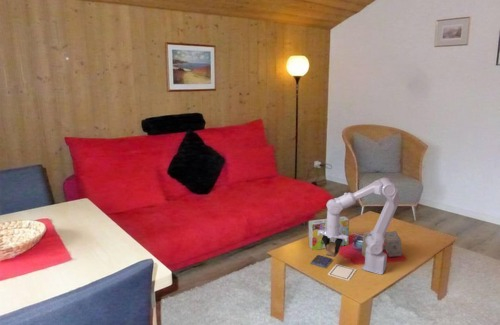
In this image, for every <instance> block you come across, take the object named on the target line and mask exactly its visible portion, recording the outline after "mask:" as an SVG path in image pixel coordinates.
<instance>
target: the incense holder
mask: <svg viewBox="0 0 500 325" xmlns="http://www.w3.org/2000/svg"><path fill="white" fill-rule="evenodd" d="M383 250H384V251H386V254H387V257H388V258H391V257H393V258H394V257H402V256H403V250H402V238H401V237H400V235H399V234H398V231H397V230H394V231H393V230H392V231H386V233H385V235H384V244H383Z"/></svg>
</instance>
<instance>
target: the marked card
mask: <svg viewBox="0 0 500 325" xmlns="http://www.w3.org/2000/svg"><path fill="white" fill-rule="evenodd" d="M356 271H357V268H356V269H355V268H352V267H348V266H344V265H341V264H337V263H336V264H335V265H334V266H333V267H332V269H330V271H329V272H328V273H327V276H330V277H334V278H337V279H341V280H344V281H347V282H349V281H350V280H351V279H352V277H353V276H354V274H355V273H356Z"/></svg>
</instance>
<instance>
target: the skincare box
mask: <svg viewBox="0 0 500 325" xmlns="http://www.w3.org/2000/svg"><path fill="white" fill-rule="evenodd" d="M371 231H372V230H371ZM371 231H365V232H362V242H361V243H362V244H361V255H362V256H363V257H365V252H366V247H367V244H366V242H365V239H366V237H367V236H368V235H369V234H370V232H371Z"/></svg>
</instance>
